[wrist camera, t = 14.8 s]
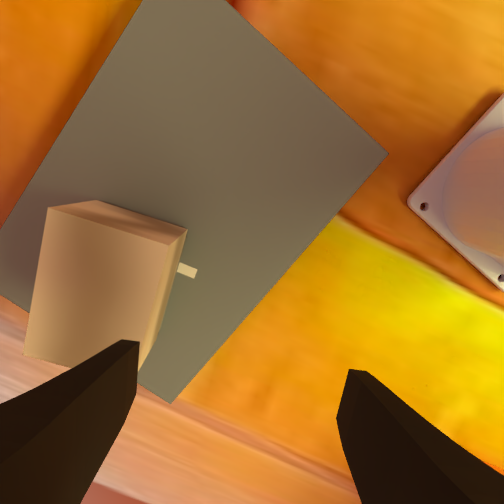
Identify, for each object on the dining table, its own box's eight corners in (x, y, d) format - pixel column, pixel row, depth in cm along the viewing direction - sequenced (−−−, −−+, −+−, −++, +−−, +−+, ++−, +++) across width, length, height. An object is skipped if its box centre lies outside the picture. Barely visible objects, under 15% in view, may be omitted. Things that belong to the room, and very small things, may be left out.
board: (377, 155, 18) (389, 153, 16) (175, 388, 21) (170, 404, 20) (180, -28, 15) (173, -49, 14) (-8, 268, 19) (-29, 275, 18)
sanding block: (189, 227, 17) (169, 245, 13) (158, 335, 19) (131, 384, 14) (100, 199, 17) (47, 207, 12) (76, 312, 18) (22, 354, 14)
